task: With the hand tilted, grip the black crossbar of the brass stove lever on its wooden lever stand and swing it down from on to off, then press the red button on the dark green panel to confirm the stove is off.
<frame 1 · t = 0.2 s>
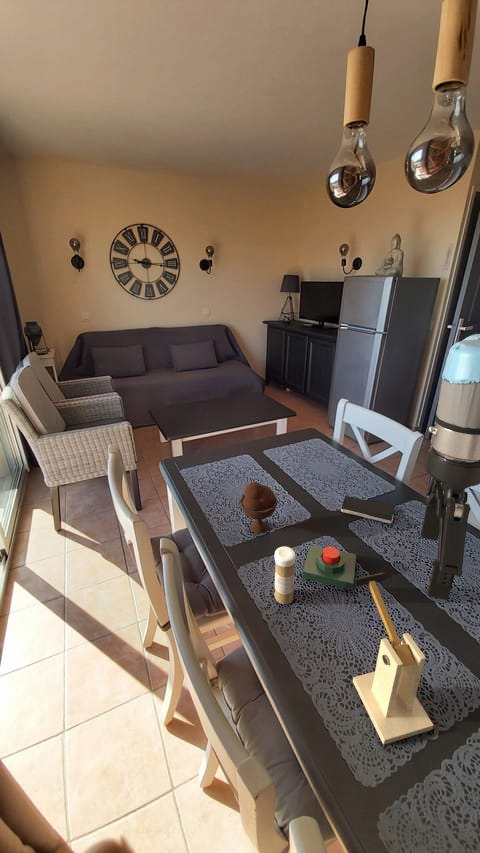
hand: (432, 564, 60), 25 cm above the table, tool pointing down, fingers open, 13 cm apart
smartphone: (367, 511, 113), on the table
sprinkles bottle: (283, 597, 85), on the table
off button: (331, 555, 90), point 5 cm above the table, slide at 0.1 cm
ice cream bowl: (258, 527, 108), on the table
stove lever: (385, 617, 61), point 16 cm above the table, hinge at 28.0°
wooden lever stand: (390, 704, 63), on the table
off panel: (329, 569, 92), on the table
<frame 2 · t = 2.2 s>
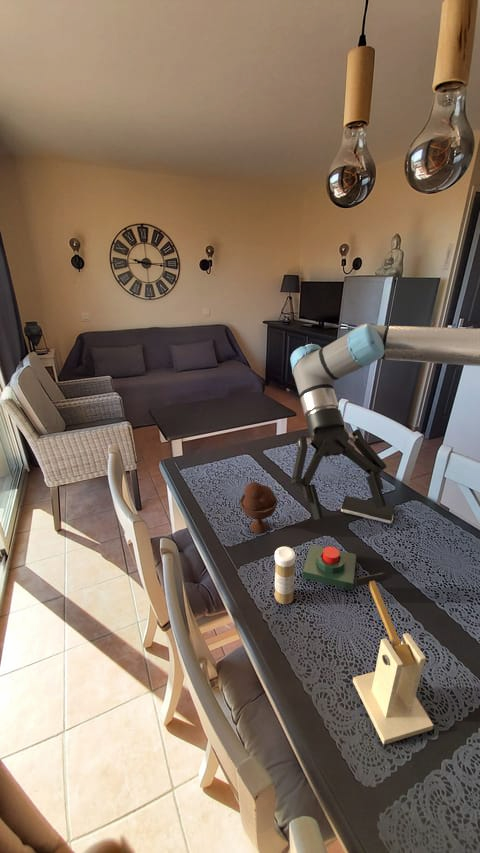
hand: (350, 513, 70), 26 cm above the table, tool tilted 45°, fingers open, 13 cm apart
nothing on the table moved.
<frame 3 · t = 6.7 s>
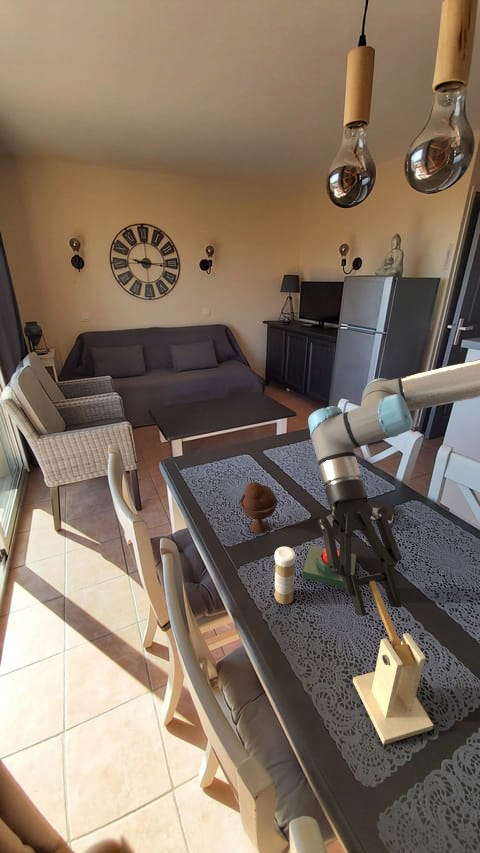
hand: (378, 610, 64), 15 cm above the table, tool tilted 45°, fingers closed on stove lever, 6 cm apart
stove lever: (385, 617, 61), point 16 cm above the table, hinge at 28.0°, touching gripper
everything else where it was.
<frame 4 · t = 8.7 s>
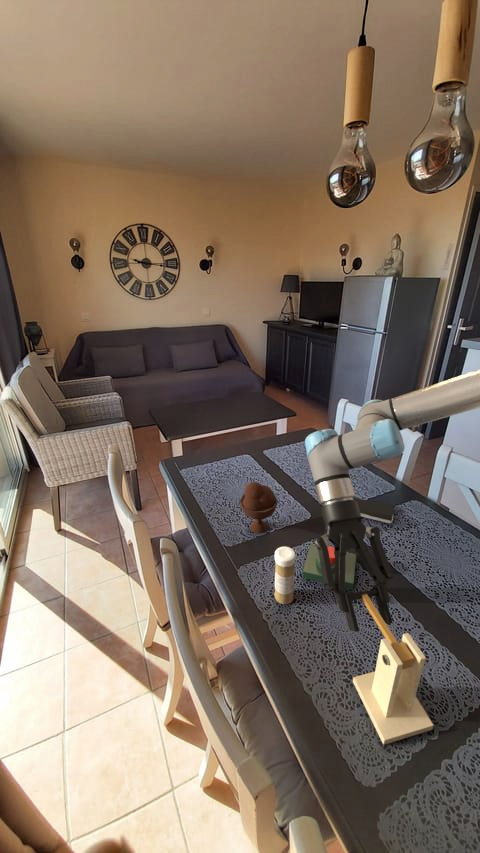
hand: (370, 626, 67), 9 cm above the table, tool tilted 45°, fingers closed on stove lever, 6 cm apart
stove lever: (381, 624, 63), point 13 cm above the table, hinge at 1.5°, touching gripper
everything else where it was.
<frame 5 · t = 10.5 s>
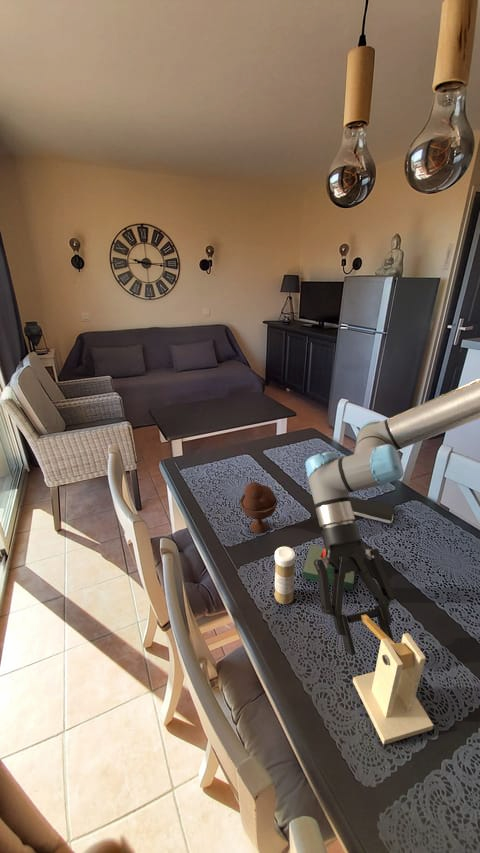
hand: (370, 648, 68), 4 cm above the table, tool tilted 45°, fingers open, 7 cm apart
stove lever: (381, 635, 64), point 11 cm above the table, hinge at -22.1°
everything else where it was.
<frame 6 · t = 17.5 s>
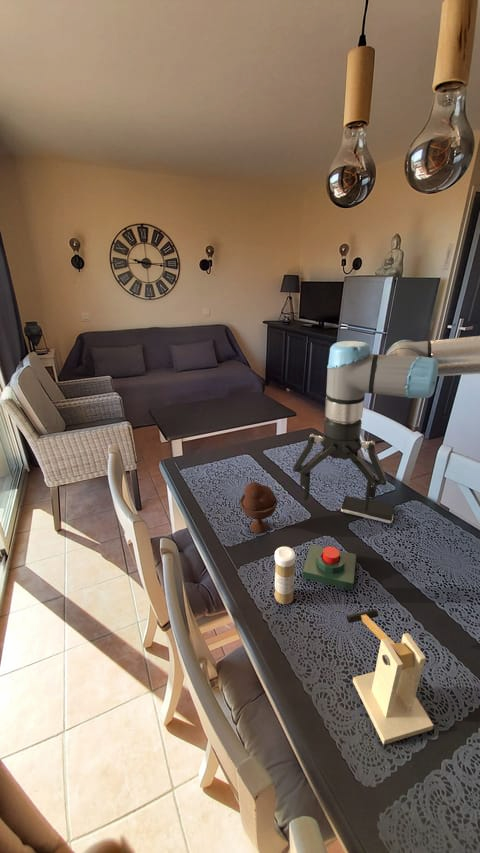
hand: (335, 502, 84), 20 cm above the table, tool pointing down, fingers open, 13 cm apart
nothing on the table moved.
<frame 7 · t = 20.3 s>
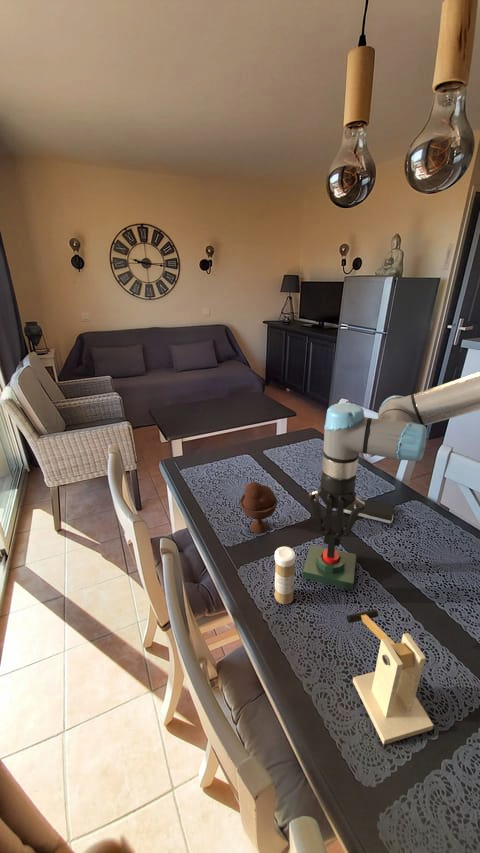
hand: (330, 553, 90), 5 cm above the table, tool pointing down, fingers closed
off button: (330, 557, 90), point 4 cm above the table, slide at -0.6 cm, touching gripper
everything else where it was.
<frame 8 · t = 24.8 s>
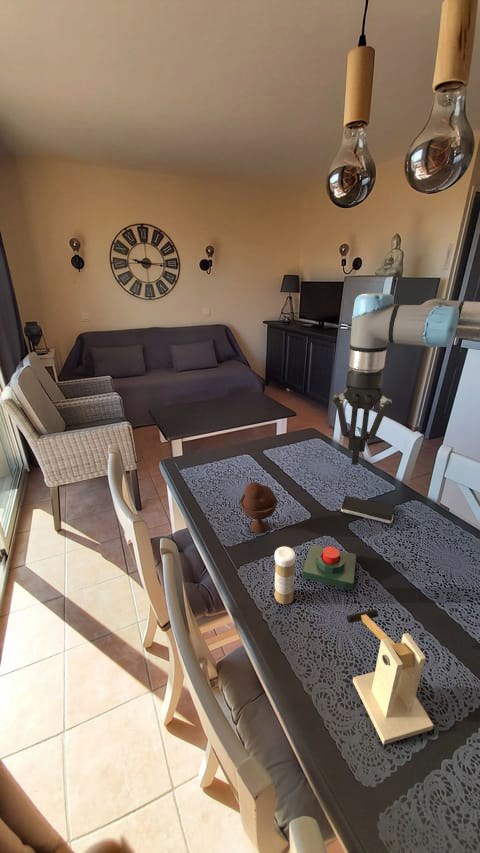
hand: (354, 461, 89), 26 cm above the table, tool pointing down, fingers closed
off button: (331, 555, 90), point 5 cm above the table, slide at 0.1 cm
everything else where it was.
at the end: stove lever at -22° (first picture: +28°); off button pushed in 1.0 cm at the most during the clip, back to where it started at the end; off button slide at 0.1 cm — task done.
